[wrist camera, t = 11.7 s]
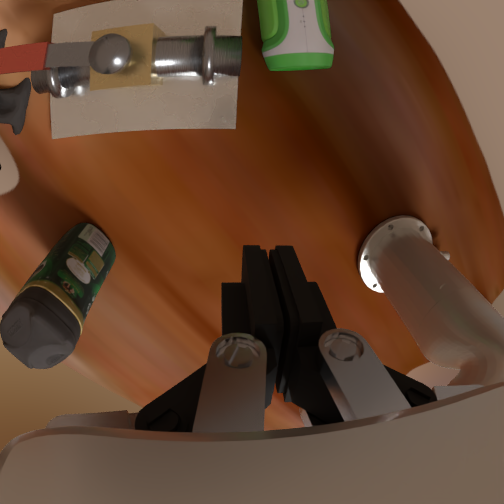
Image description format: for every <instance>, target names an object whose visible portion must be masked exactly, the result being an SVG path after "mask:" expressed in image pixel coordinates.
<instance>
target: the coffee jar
mask: <svg viewBox="0 0 504 504" xmlns="http://www.w3.org/2000/svg"><path fill="white" fill-rule="evenodd" d="M115 257H116V255H115V250H114V247H113V245H112V244H111V242H110V241H109V239H108V238H107V237H106V236H105V234H104V233H103V232H101V231H100V230H99V229H98V228H97V227H95V226H94V225H92V224H89V223H80V224H77V225H76V226H74V227H73V228H72V229H70V230H69V231H68V232H67V233H66V234H65V235H64V236H63V237H62V238H61V239H60V240H59V241H58V243H57V244H56V245H55V246H54V247H53V249H52V250H51V251H50V252H49V254H48V255H47V256H46V258H45V259H44V260H43V261H42V263H41V264H40V265H39V266H38V268H37V269H36V270H35V272H34V273H33V274H32V275H31V277H30V278H29V279H28V281H27V282H26V283H25V285H24V286H23V288H22V289H21V290H20V292H19V293H18V294H17V296H16V297H15V299H14V300H13V302H12V303H11V305H10V306H9V308H8V310H7V311H6V312H5V313H4V314H3V315H2V320H1V323H0V333H1V338H2V340H3V345H4V346H5V348H7V350H8V351H9V352H11V353H12V354H13V355H14V356H15V357H16V358H17V359H18V360H20V361H21V362H22V363H23V364H25V365H26V366H27V367H28V368H36V369H47V368H51V367H53V366H55V365H57V364H58V363H60V362H62V361H63V360H64V359H66V358H67V357H68V356H69V355H70V354H71V353H72V352H73V350H74V349H75V345H76V343H77V341H78V339H79V337H80V335H81V333H82V329H83V324H84V321H85V319H86V316H87V314H88V312H89V310H90V307H91V305H92V303H93V301H94V299H95V297H96V295H97V293H98V291H99V289H100V287H101V285H102V284H103V282H104V280H105V278H106V276H107V274H108V273H109V271H110V269H111V267H112V265H113V263H114V261H115Z"/></svg>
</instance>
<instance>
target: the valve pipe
mask: <svg viewBox="0 0 504 504" xmlns="http://www.w3.org/2000/svg"><path fill="white" fill-rule="evenodd" d="M242 6H243V0H113V1H107V2H102V3H97V4H92V5H88V6H83V7H79V8H75V9H71V10H67V11H63V12H60V13H56V14H54V18H53V28H52V41H51V43H69V42H92V41H96V40H97V39H99V38H100V37H102V36H103V35H106V34H111V33H115V34H119V35H121V36H123V37H125V38H127V39H128V40H129V41H130V42H131V44H132V47H133V56H132V59H131V61H130V63H129V64H128V66H127V67H126V68H125V69H124V70H122V71H121V72H119V73H116V74H101V73H98V72H96V71H95V70H93V68H92V67H91V66H79V67H51V68H50V70H38V71H31V81H32V85H33V88H34V90H35V91H36V92H37V93H39V94H42V93H46V92H50V108H51V129H52V139H57V138H64V137H72V136H80V135H89V134H99V133H109V132H122V131H137V130H156V129H199V128H209V129H236V109H237V90H238V77H239V76H240V68H241V56H242V36H241V21H242Z"/></svg>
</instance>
